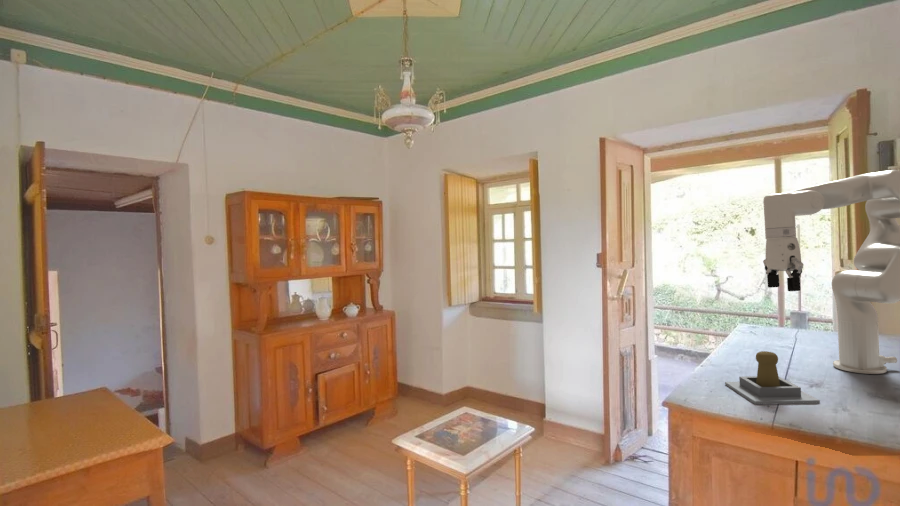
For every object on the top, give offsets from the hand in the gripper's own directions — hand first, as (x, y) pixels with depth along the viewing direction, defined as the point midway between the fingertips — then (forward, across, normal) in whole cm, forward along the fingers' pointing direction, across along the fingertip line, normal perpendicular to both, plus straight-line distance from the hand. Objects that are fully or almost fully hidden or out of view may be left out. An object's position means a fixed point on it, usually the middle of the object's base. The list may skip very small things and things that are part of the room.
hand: (783, 289), depth 134 cm
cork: (+27, -12, +12) cm, 32 cm away
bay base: (+28, -12, +12) cm, 33 cm away
